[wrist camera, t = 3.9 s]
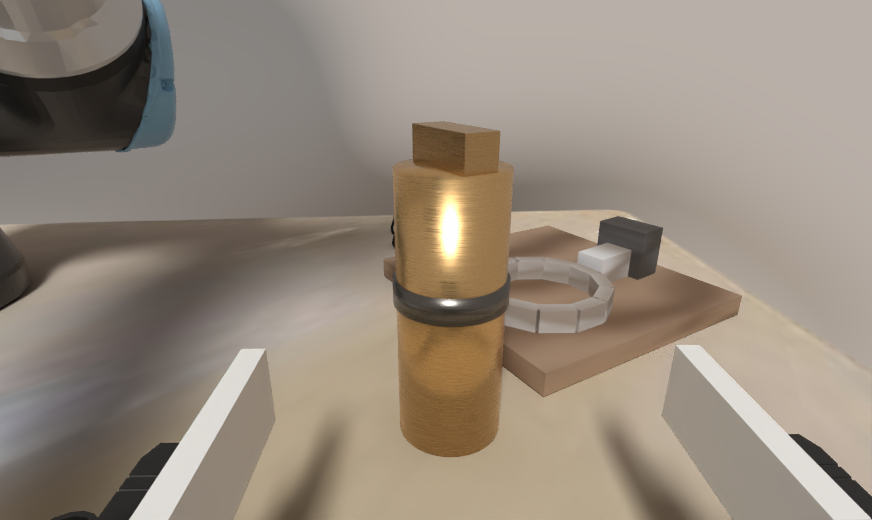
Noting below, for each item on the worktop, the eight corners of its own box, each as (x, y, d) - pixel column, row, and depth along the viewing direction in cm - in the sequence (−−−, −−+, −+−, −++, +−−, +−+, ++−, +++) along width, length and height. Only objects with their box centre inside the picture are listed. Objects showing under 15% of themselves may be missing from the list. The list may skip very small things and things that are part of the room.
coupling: (379, 409, 26) (366, 124, 21) (463, 379, 29) (469, 118, 23) (431, 475, 22) (430, 139, 17) (523, 433, 25) (548, 129, 19)
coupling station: (384, 275, 43) (381, 216, 41) (547, 239, 52) (551, 189, 50) (543, 396, 27) (551, 310, 25) (737, 314, 36) (754, 246, 35)
